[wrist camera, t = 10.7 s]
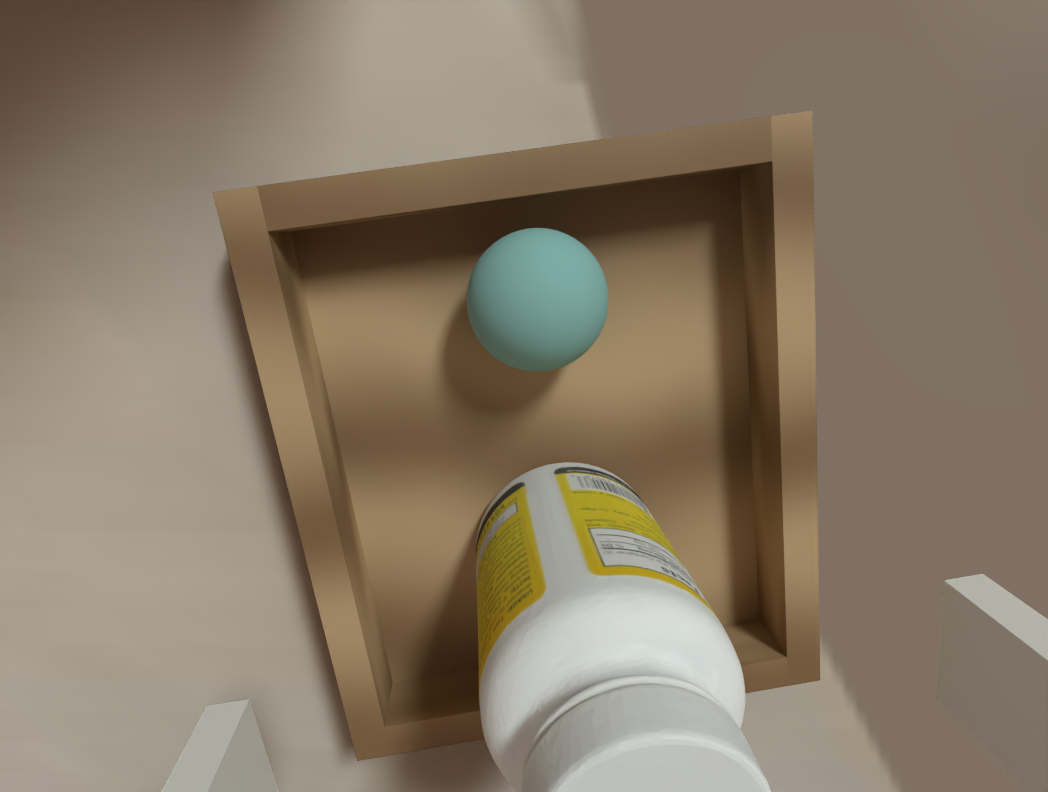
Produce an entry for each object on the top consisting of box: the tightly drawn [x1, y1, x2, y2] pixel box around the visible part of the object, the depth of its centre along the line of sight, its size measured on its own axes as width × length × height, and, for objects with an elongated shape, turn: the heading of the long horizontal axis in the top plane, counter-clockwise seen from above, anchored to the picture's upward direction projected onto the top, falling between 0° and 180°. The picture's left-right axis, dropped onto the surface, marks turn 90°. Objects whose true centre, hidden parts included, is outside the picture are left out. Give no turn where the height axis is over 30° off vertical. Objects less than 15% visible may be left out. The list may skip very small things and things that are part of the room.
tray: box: [213, 111, 820, 761], centre depth 18 cm, size 16×14×2 cm
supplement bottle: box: [476, 462, 771, 792], centre depth 14 cm, size 5×5×10 cm
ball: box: [466, 228, 609, 372], centre depth 15 cm, size 4×4×4 cm
